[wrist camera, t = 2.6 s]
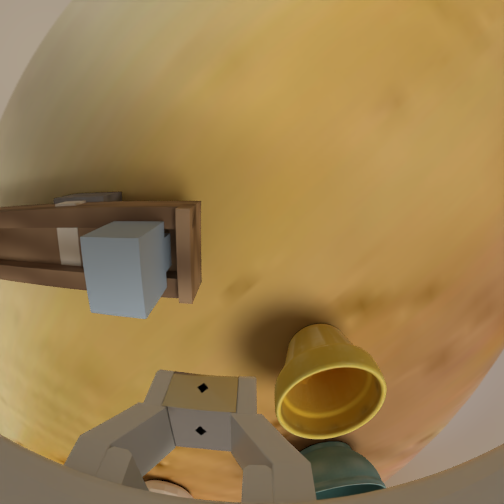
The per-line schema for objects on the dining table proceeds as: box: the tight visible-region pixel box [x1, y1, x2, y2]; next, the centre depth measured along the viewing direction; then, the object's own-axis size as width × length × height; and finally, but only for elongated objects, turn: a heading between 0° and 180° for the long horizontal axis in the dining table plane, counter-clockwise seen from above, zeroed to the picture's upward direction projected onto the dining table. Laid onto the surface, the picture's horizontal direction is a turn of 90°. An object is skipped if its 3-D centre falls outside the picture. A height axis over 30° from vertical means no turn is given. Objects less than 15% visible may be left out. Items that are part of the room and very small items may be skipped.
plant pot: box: [275, 324, 386, 439], centre depth 28 cm, size 10×10×10 cm
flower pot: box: [300, 441, 386, 500], centre depth 34 cm, size 16×16×11 cm
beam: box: [0, 192, 202, 304], centre depth 25 cm, size 8×24×8 cm, turn 88°
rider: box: [80, 221, 172, 319], centre depth 19 cm, size 5×4×7 cm
